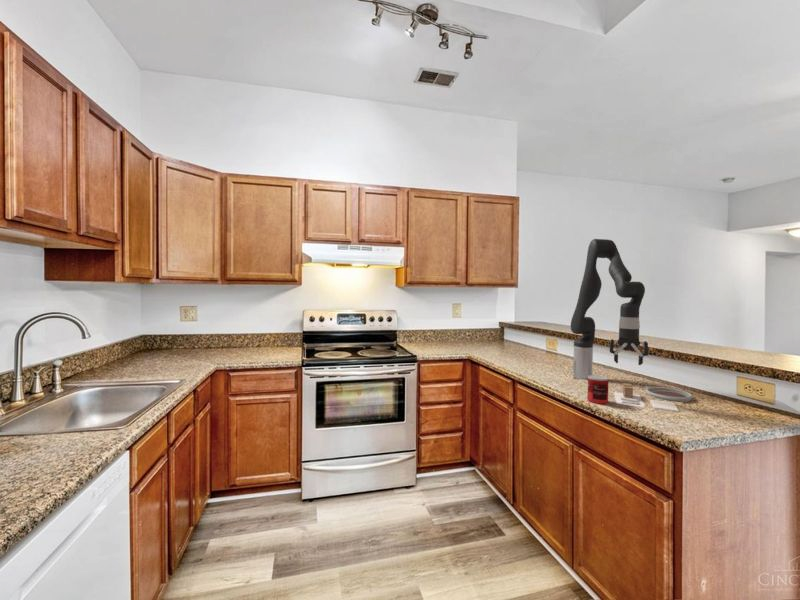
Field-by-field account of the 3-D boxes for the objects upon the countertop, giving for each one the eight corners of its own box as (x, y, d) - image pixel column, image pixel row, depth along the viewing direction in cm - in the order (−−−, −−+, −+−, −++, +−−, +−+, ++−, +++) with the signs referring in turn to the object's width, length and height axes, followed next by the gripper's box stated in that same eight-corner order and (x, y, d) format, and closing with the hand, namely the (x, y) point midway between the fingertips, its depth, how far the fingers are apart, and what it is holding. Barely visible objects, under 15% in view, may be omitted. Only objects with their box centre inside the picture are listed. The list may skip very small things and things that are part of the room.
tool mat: (616, 404, 152) (616, 403, 152) (613, 393, 169) (613, 392, 169) (645, 408, 148) (645, 407, 148) (639, 395, 164) (639, 394, 164)
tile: (650, 403, 155) (654, 411, 146) (650, 399, 155) (654, 407, 146) (673, 406, 152) (678, 414, 142) (673, 402, 152) (678, 410, 142)
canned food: (596, 398, 160) (596, 374, 160) (612, 404, 153) (613, 378, 153) (583, 400, 158) (583, 375, 157) (599, 406, 150) (599, 380, 150)
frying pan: (655, 381, 183) (703, 396, 155) (655, 387, 183) (703, 403, 155) (621, 381, 182) (664, 397, 154) (621, 387, 182) (664, 404, 154)
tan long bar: (619, 393, 166) (619, 382, 166) (634, 395, 164) (634, 384, 163) (621, 402, 153) (622, 391, 153) (638, 404, 150) (639, 392, 150)
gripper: (647, 327, 159) (646, 363, 160) (609, 325, 166) (608, 360, 166) (650, 329, 152) (648, 367, 153) (610, 327, 159) (609, 364, 160)
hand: (627, 363), depth 160 cm, fingers open, 8 cm apart
